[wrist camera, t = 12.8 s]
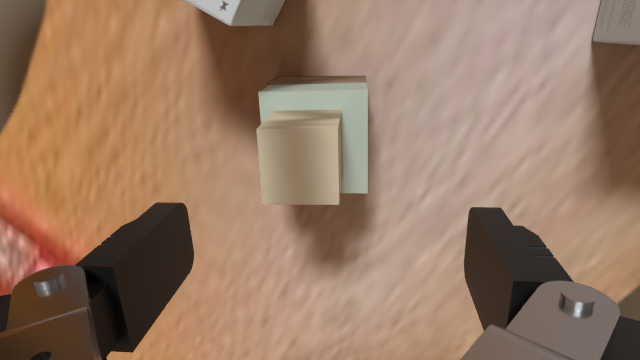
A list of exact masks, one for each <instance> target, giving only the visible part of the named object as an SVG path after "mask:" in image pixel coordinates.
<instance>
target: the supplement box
mask: <svg viewBox="0 0 640 360" xmlns="http://www.w3.org/2000/svg"><path fill="white" fill-rule="evenodd" d="M593 42H602V43H615V44H629V45H640V0H602V1H601V5H600V9H599V13H598V18H597V22H596V26H595V31H594V35H593Z"/></svg>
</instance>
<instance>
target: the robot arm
mask: <svg viewBox="0 0 640 360" xmlns="http://www.w3.org/2000/svg"><path fill="white" fill-rule="evenodd" d="M193 260H194V250H193V243H192V237H191V231H190V224H189V218H188V212H187V208H186V206H185V205H184V204H183V203H155V204H154V205H153V206H152V207H150V208H149V209H148V210H147V211H146V212H145V213H143V214H142V215H141V216H140V217H139V218H137V219H136V220H134V221H132V222H130V223H127V224H125V225H123V226H121V227H120V228H119V229H118V230H117V231H115V232H114V233H113V234H112V235H111V237H108V238H107V239H106V240H105V241H103V242H102V243H101V245H99V246H97V247H96V248H95V249H94V250H93V251H91V252H90V253H89V254H88V255H87V256H85V257H84V258H83V259H82V260H81V261H79V262H78V263H77V264H76V265H61V266H55V267H50V268H47V269H43V270H40V271H38V272H35V273H33V274H31V275H29V276H27V277H26V278H24V279H22V280H21V281H20V282H18V283H17V284H16V285H15V286H14V288H13V290H12V293H11V294H10V295H3V296H0V360H107V356H108V354H109V353H110V352H111V351H116V352H133V351H134V350H135V348H136V347H137V346H138V344H139V343H140V341H141V340H142V339H143V337H144V336H145V334H146V333H147V332H148V330H149V329H150V327H151V326H152V325H153V323H154V322H155V320H156V319H157V318H158V316H159V315H160V313H161V312H162V311H163V309H164V308H165V306H166V305H167V304H168V302H169V301H170V300H171V298H172V297H173V295H174V294H175V293H176V291H177V290H178V288H179V287H180V286H181V284H182V283H183V281H184V280H185V279H186V277H187V276H188V274H189V273H190V271H191V269H192V266H193ZM464 272H465V279H466V283H467V286H468V288H469V291H470V294H471V297H472V299H473V302H474V305H475V308H476V310H477V313H478V316H479V319H480V321H481V324H482V327H483V330H484V332H483V333H482V334H481V336H480V337H479V338H478V339H477V340H476V341H475V343H474V344H473V345H472V346H471V347H470V349H469V350H468V351H467V352H466V353H465V354H464V356H463V357H462V358H461V359H460V360H640V321H636V320H632V319H628V318H625V317H622V316H620V310H619V308H618V306H617V304H616V303H615V302H614V301H613V300H612V299H611V298H610V297H608V296H607V295H606V294H604V293H602V292H600V291H599V290H596V289H594V288H592V287H589V286H587V285H583V284H580V283H575V282H573V280H572V279H571V278H570V276H569V275H568V274H567V272H566V271H565V270H564V269H563V267H562V266H561V265H560V263H559V262H558V261H557V260H556V258H553V254H552V253H551V252H550V250H549V249H546V245H545V244H544V243H543V241H542V240H541V239H540V238H539V236H538V235H536V234H535V233H533V232H531V231H530V230H528V229H526V228H525V227H523V226H513V224H512V223H511V222H510V220H509V219H508V217H507V216H506V214H505V213H504V211H503V210H502V209H501V208H486V207H472V208H471V209H470V211H469V216H468V225H467V236H466V246H465V257H464Z"/></svg>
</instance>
